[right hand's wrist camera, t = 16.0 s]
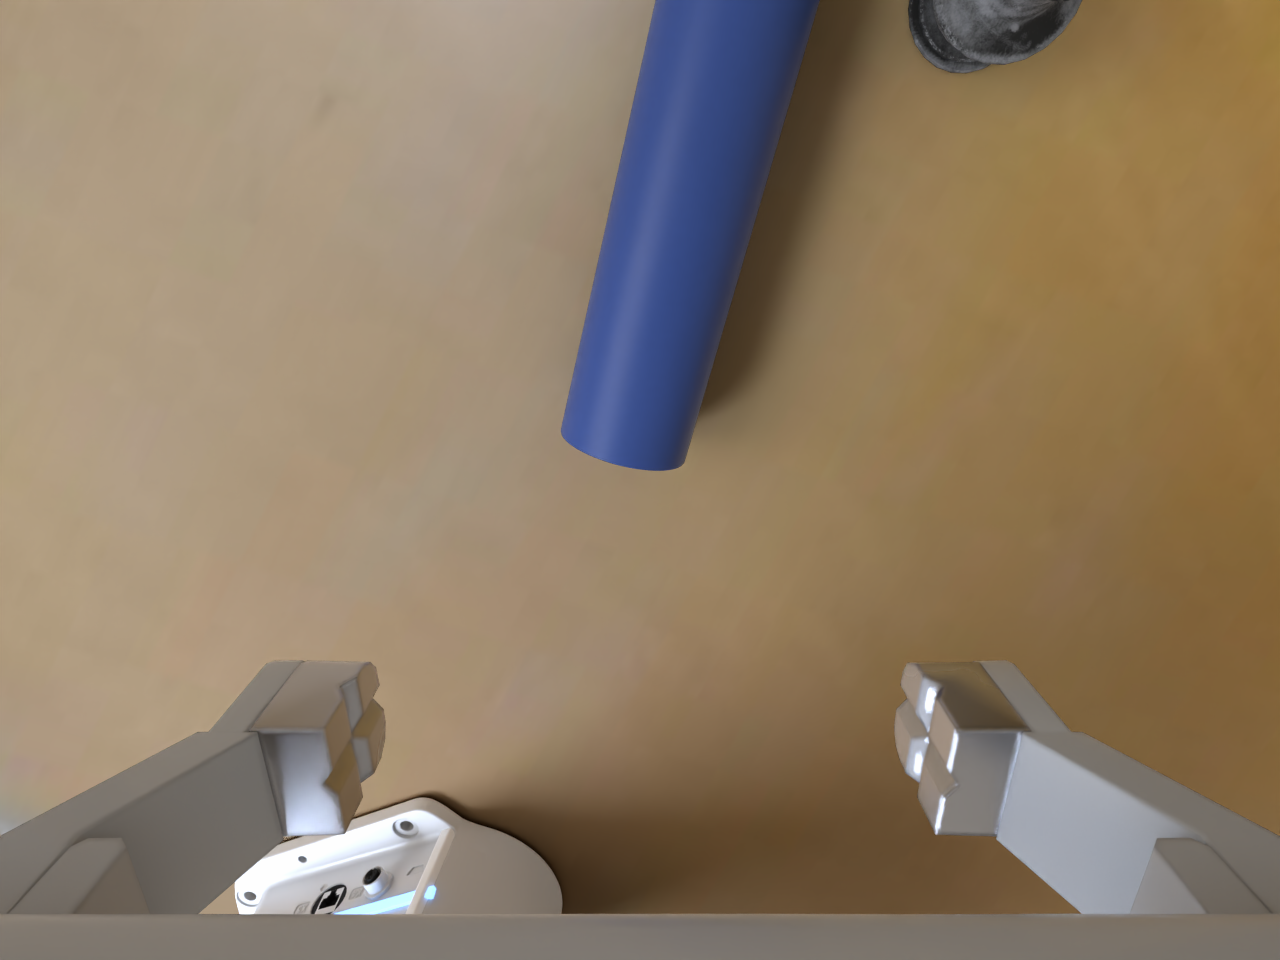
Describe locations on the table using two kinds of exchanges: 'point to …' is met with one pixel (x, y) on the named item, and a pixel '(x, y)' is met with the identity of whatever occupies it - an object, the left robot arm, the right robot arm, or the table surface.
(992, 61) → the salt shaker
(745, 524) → the table surface
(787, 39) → the rod
